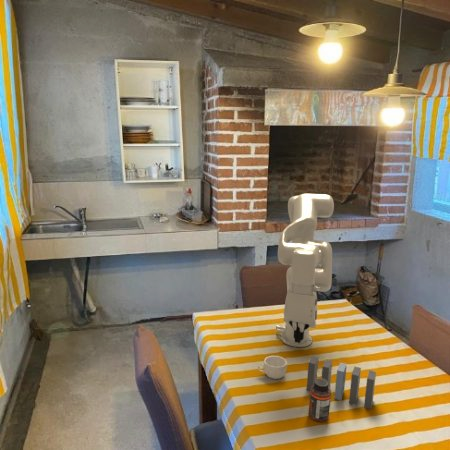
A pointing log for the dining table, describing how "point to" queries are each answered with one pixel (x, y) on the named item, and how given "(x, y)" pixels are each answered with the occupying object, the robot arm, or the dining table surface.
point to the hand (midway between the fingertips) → (298, 340)
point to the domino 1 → (312, 372)
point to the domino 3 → (340, 381)
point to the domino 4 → (354, 385)
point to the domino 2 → (327, 371)
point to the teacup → (274, 366)
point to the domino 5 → (369, 389)
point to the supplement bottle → (319, 400)
